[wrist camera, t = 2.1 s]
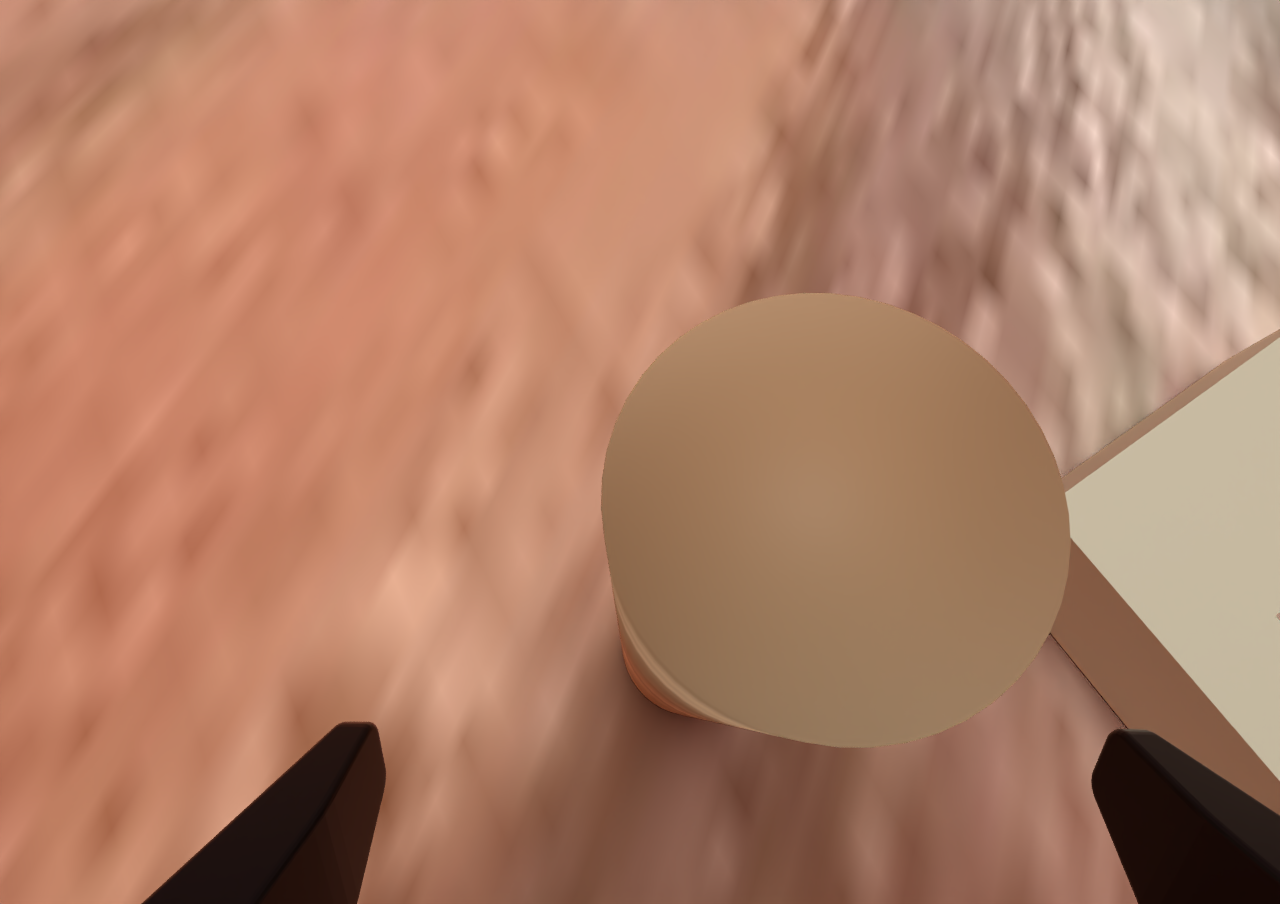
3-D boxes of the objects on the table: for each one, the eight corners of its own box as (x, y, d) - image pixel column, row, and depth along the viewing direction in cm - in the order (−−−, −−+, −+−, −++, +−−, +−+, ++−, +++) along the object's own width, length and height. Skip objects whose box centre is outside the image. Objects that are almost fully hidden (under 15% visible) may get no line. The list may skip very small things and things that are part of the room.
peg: (785, 663, 19) (1170, 564, 5) (672, 744, 18) (788, 862, 5) (706, 550, 19) (867, 224, 6) (596, 623, 19) (514, 432, 6)
